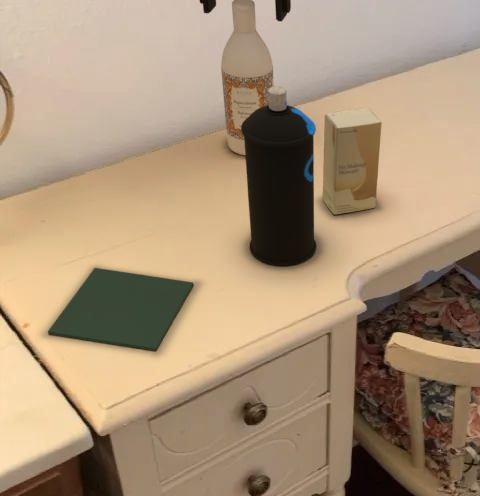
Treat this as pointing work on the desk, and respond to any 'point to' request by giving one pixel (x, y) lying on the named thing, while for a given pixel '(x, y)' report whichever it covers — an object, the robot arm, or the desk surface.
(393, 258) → the desk surface
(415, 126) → the desk surface
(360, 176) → the cosmetic box
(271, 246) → the aerosol can
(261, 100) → the bath foam
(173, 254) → the desk surface
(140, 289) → the mat
